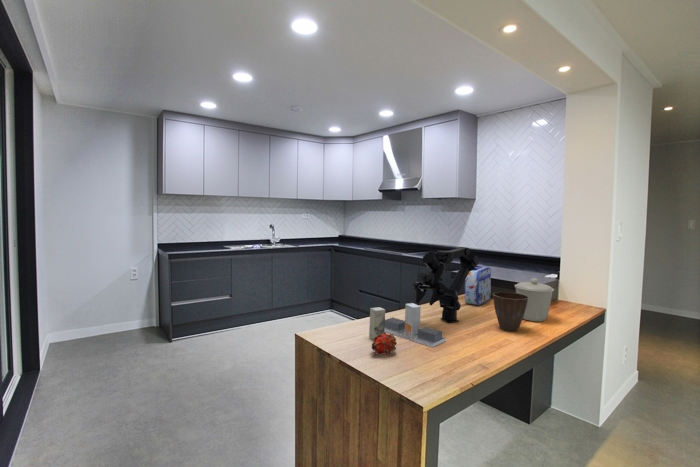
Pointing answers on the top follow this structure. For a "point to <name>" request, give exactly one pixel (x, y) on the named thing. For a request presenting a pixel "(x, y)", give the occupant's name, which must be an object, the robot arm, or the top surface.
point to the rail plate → (423, 337)
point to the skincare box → (412, 318)
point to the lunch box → (478, 286)
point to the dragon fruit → (384, 343)
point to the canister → (535, 299)
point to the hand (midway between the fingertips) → (423, 304)
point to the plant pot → (509, 309)
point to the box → (376, 322)
